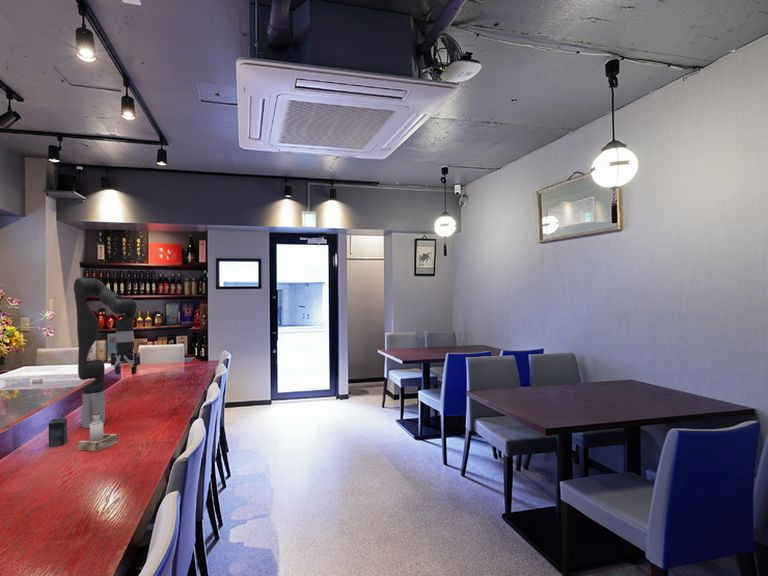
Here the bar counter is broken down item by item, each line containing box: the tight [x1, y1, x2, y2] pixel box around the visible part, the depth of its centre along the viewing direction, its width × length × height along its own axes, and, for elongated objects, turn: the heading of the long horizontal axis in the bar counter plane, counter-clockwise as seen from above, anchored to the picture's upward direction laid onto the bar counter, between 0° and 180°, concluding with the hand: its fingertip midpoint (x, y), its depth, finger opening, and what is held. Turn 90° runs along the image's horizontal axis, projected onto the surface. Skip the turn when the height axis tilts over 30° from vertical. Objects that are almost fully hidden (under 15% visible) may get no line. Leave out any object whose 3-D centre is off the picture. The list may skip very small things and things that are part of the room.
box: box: [48, 417, 68, 448], centre depth 201 cm, size 8×6×11 cm
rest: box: [77, 433, 119, 452], centre depth 196 cm, size 10×11×4 cm
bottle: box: [89, 412, 104, 441], centre depth 196 cm, size 5×5×14 cm
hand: (125, 374), depth 213 cm, fingers open, 8 cm apart
